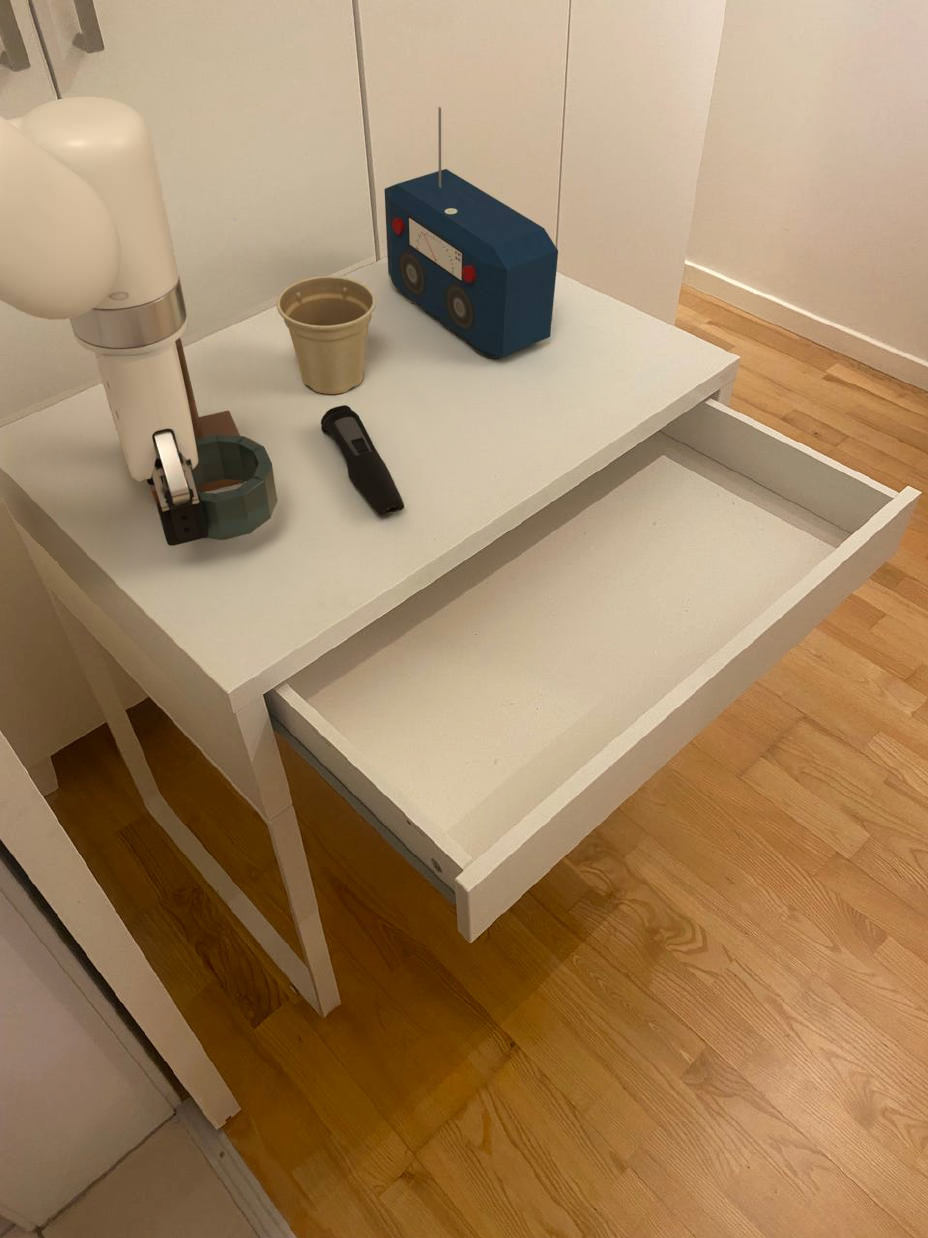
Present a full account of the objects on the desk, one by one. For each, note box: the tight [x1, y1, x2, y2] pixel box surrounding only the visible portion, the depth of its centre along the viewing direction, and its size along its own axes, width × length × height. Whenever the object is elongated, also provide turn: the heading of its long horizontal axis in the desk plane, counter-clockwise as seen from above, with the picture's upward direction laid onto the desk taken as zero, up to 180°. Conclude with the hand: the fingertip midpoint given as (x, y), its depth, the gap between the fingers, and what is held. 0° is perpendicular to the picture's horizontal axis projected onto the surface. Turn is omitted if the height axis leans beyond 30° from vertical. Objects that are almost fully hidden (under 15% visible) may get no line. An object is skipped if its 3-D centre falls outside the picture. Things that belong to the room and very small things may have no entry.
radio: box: [383, 106, 559, 359], centre depth 98 cm, size 21×9×20 cm, turn 37°
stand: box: [149, 337, 246, 505], centre depth 84 cm, size 9×9×12 cm
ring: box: [162, 434, 278, 541], centre depth 77 cm, size 8×8×4 cm
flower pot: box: [276, 275, 377, 395], centre depth 94 cm, size 9×9×9 cm
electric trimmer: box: [320, 404, 405, 517], centre depth 87 cm, size 4×16×3 cm, turn 23°
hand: (177, 507), depth 77 cm, fingers closed on ring, 7 cm apart
